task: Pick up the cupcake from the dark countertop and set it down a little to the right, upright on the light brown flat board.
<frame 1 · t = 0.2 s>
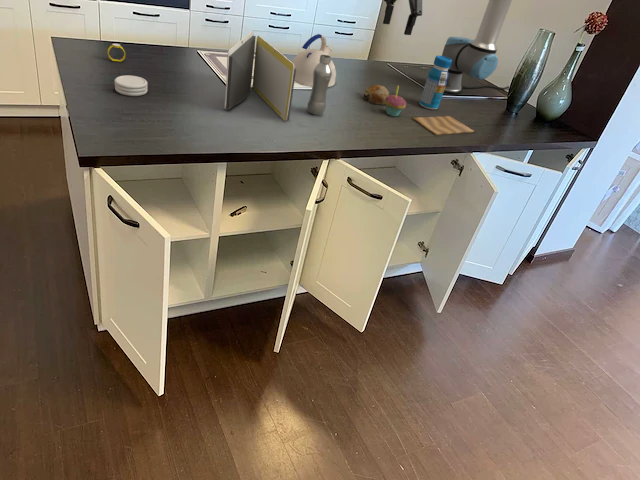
hand: (396, 29, 177), 28 cm above the worktop, tool pointing down, fingers open, 13 cm apart
kettle: (311, 79, 201), on the worktop
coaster: (131, 91, 157), on the worktop
grey folded panel: (246, 102, 167), on the worktop
bread roll: (375, 101, 194), on the worktop
plastic bottle: (315, 113, 171), on the worktop
light brown flat board: (443, 125, 184), on the worktop
beverage bottle: (428, 106, 200), on the worktop
cupcake: (392, 114, 185), on the worktop
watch: (117, 61, 176), on the worktop
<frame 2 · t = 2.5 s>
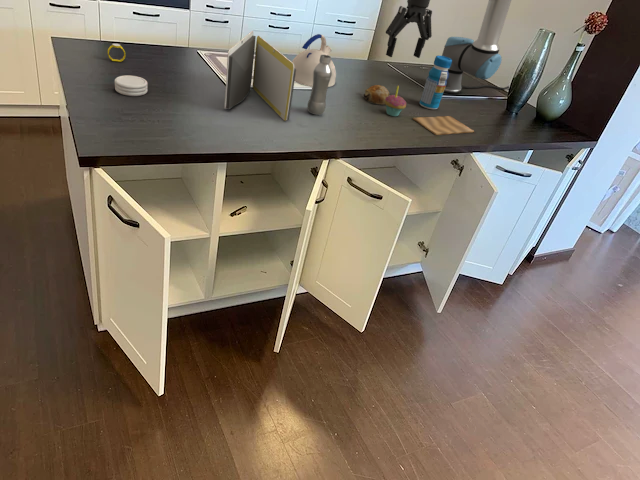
hand: (402, 56, 175), 21 cm above the worktop, tool pointing down, fingers open, 13 cm apart
nothing on the worktop moved.
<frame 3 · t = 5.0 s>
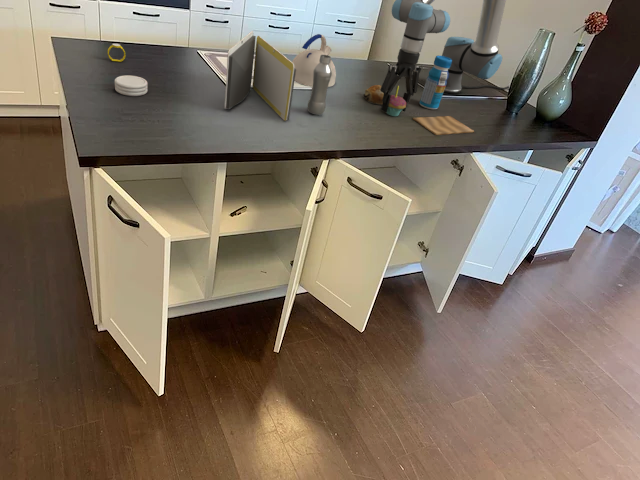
hand: (393, 110, 184), 1 cm above the worktop, tool pointing down, fingers closed on cupcake, 8 cm apart
cupcake: (392, 114, 185), on the worktop, touching gripper
everything else where it was.
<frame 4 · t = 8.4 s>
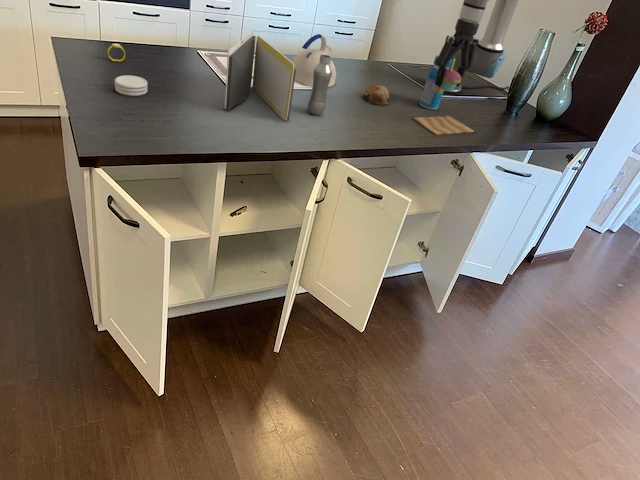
hand: (446, 85, 176), 15 cm above the worktop, tool pointing down, fingers closed on cupcake, 8 cm apart
cupcake: (445, 89, 177), point 13 cm above the worktop, touching gripper
everything else where it was.
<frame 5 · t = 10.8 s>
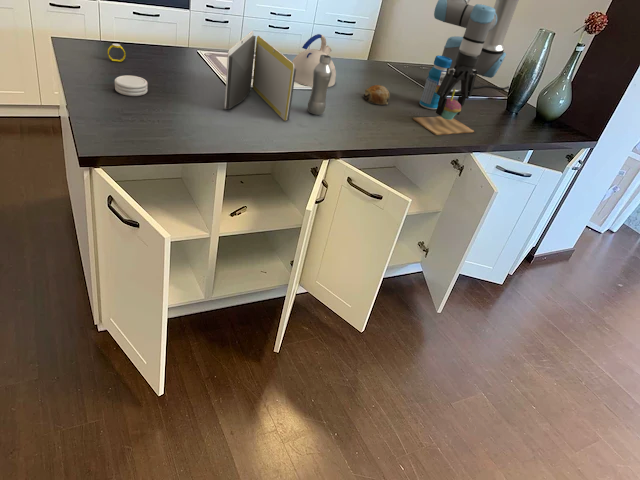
hand: (447, 113, 181), 5 cm above the worktop, tool pointing down, fingers closed on cupcake, 8 cm apart
cupcake: (445, 117, 182), point 3 cm above the worktop, touching gripper
everything else where it was.
when the fingers open (2 cm above the worktop, at t = 12.1 s): cupcake stays where it is, resting on light brown flat board.
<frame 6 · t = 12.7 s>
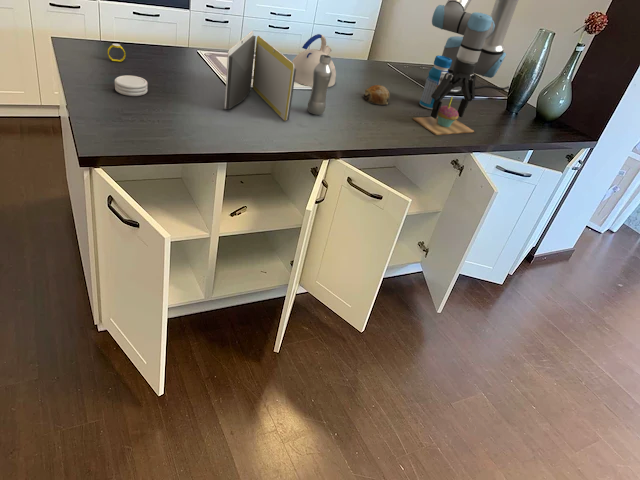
hand: (446, 116, 182), 4 cm above the worktop, tool pointing down, fingers open, 13 cm apart
cupcake: (443, 124, 184), resting on light brown flat board
everything else where it was.
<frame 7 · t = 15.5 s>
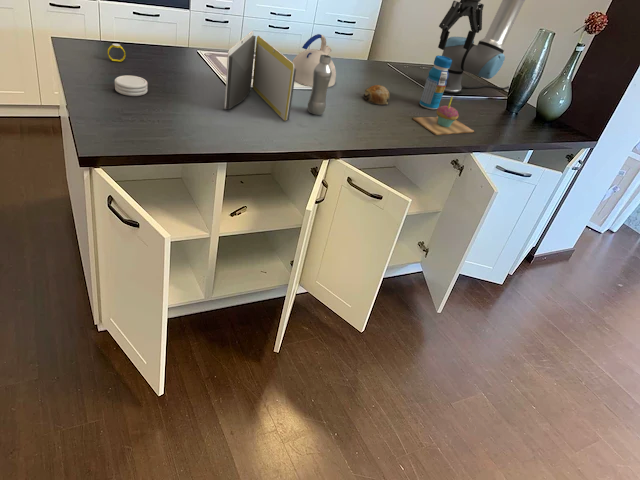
hand: (453, 49, 182), 25 cm above the worktop, tool pointing down, fingers open, 13 cm apart
nothing on the worktop moved.
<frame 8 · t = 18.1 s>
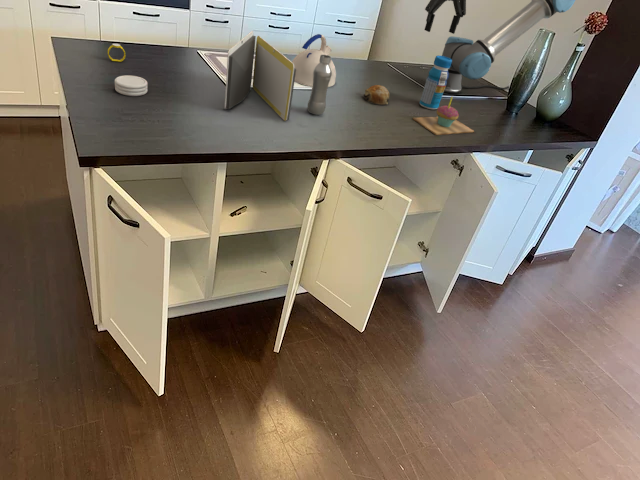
hand: (439, 32, 195), 27 cm above the worktop, tool pointing down, fingers open, 13 cm apart
nothing on the worktop moved.
at the end: cupcake inside the target area on the light brown flat board (0.1 cm from its centre), point 0.4 cm above the light brown flat board's base; cupcake tilted 0°; the gripper is holding nothing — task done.
